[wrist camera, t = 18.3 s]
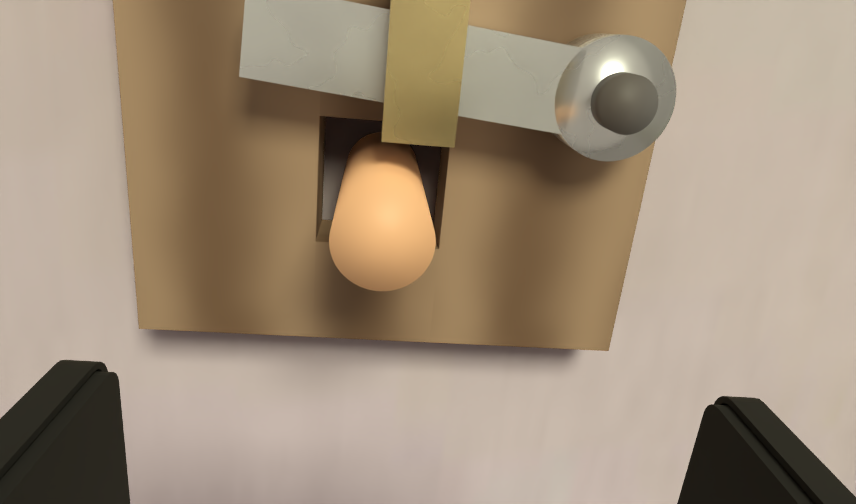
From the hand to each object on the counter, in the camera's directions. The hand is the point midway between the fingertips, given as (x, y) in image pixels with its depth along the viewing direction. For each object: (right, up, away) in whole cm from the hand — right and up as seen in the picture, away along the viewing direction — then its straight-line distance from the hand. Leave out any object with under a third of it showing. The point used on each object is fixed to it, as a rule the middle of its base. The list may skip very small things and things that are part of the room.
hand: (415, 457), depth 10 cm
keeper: (0, +11, +13) cm, 17 cm away
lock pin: (-2, +7, +18) cm, 19 cm away
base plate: (-1, +8, +18) cm, 19 cm away
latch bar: (+1, +10, +14) cm, 17 cm away
